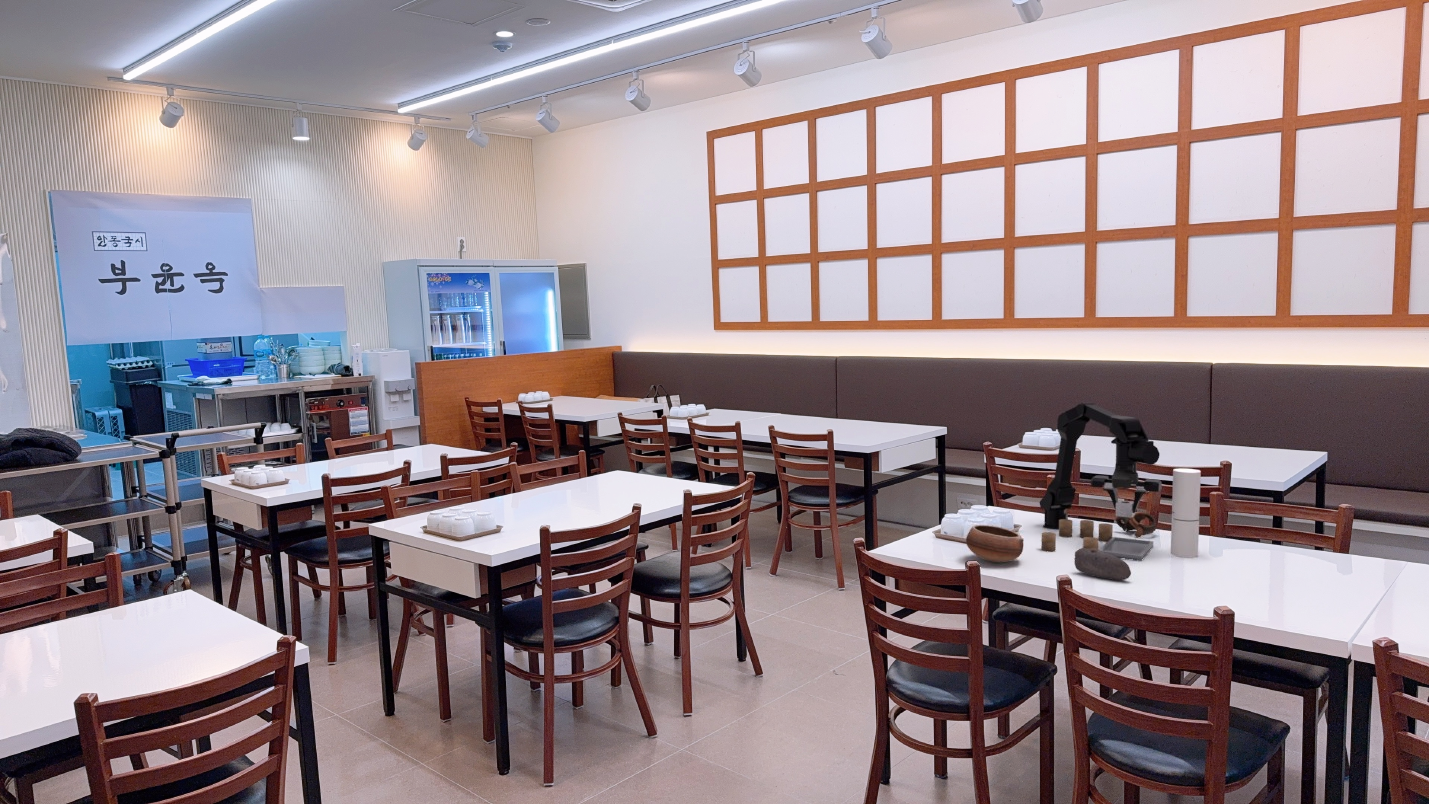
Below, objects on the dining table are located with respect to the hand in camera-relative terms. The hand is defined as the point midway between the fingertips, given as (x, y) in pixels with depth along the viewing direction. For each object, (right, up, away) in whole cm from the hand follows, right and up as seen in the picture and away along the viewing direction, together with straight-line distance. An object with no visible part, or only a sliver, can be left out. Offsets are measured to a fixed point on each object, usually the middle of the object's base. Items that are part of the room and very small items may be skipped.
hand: (1125, 512), depth 276 cm
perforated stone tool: (-17, -15, -25) cm, 34 cm away
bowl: (-41, -14, -8) cm, 44 cm away
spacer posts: (-11, -11, +9) cm, 18 cm away
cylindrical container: (+15, -12, -4) cm, 20 cm away
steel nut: (0, -1, 0) cm, 1 cm away
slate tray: (+1, -12, +1) cm, 12 cm away
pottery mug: (+13, -10, +21) cm, 27 cm away
